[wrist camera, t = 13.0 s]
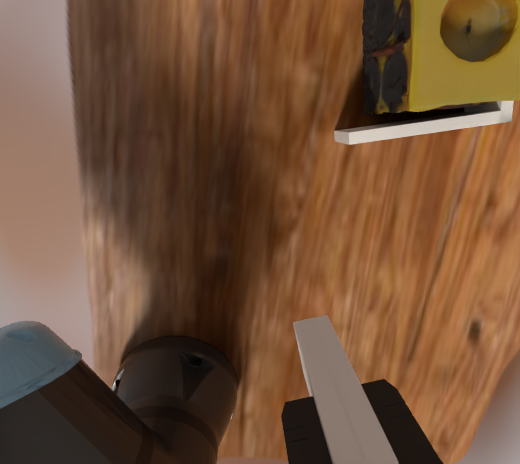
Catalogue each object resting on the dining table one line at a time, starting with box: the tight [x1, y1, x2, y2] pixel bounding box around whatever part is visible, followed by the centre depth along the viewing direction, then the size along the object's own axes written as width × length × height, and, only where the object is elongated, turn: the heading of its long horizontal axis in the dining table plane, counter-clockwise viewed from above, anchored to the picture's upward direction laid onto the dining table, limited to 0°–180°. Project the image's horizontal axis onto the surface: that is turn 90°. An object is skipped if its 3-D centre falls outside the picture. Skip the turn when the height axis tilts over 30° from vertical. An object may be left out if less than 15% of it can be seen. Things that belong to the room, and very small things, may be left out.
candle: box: [362, 0, 520, 116], centre depth 26 cm, size 10×10×10 cm
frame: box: [334, 101, 514, 145], centre depth 28 cm, size 14×14×5 cm
